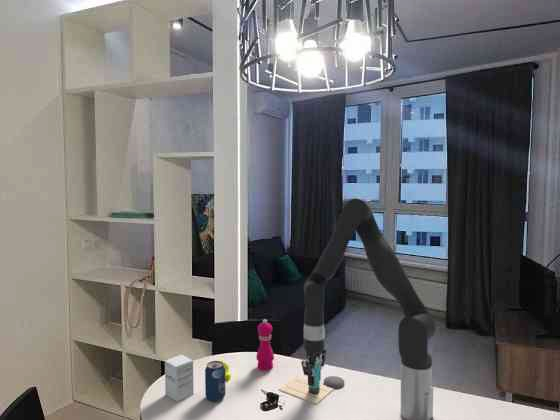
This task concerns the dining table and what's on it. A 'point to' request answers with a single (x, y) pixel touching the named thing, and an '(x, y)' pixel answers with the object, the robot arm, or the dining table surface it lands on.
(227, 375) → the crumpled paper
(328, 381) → the coaster
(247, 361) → the dining table surface
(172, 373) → the supplement box
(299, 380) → the wooden board
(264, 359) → the pepper mill
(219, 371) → the soda can
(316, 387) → the teal cylinder
